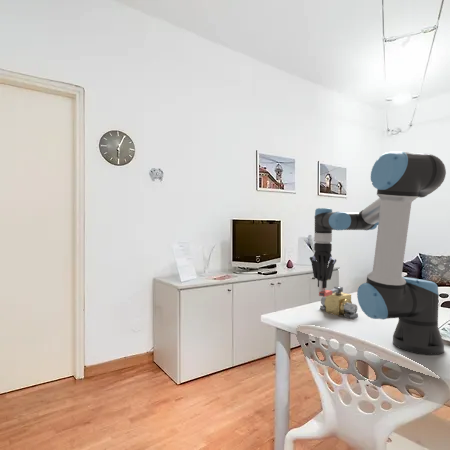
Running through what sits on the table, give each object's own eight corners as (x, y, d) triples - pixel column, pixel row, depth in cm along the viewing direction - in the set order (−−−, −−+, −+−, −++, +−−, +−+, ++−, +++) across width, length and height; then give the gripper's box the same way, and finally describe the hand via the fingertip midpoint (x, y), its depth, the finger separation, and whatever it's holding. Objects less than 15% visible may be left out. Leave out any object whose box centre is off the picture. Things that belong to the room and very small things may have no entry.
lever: (336, 289, 157) (336, 286, 157) (344, 291, 154) (344, 287, 154) (317, 295, 144) (317, 291, 144) (326, 296, 141) (326, 293, 141)
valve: (347, 318, 144) (347, 296, 144) (317, 309, 160) (318, 288, 160) (360, 316, 148) (360, 294, 148) (329, 307, 164) (330, 287, 164)
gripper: (340, 243, 144) (339, 296, 144) (316, 241, 155) (315, 291, 155) (330, 243, 140) (328, 298, 140) (306, 242, 150) (305, 293, 150)
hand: (321, 295), depth 147 cm, fingers closed
